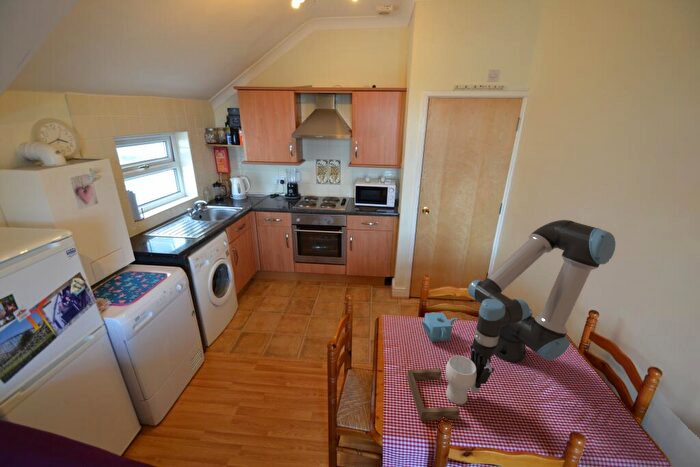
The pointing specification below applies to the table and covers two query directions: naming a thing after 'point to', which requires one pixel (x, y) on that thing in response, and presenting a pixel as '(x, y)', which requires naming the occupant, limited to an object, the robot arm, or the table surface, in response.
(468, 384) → the cup
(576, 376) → the table surface
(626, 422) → the table surface
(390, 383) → the table surface
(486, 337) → the robot arm
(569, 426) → the table surface
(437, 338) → the teapot
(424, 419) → the wooden u-shaped bracket
